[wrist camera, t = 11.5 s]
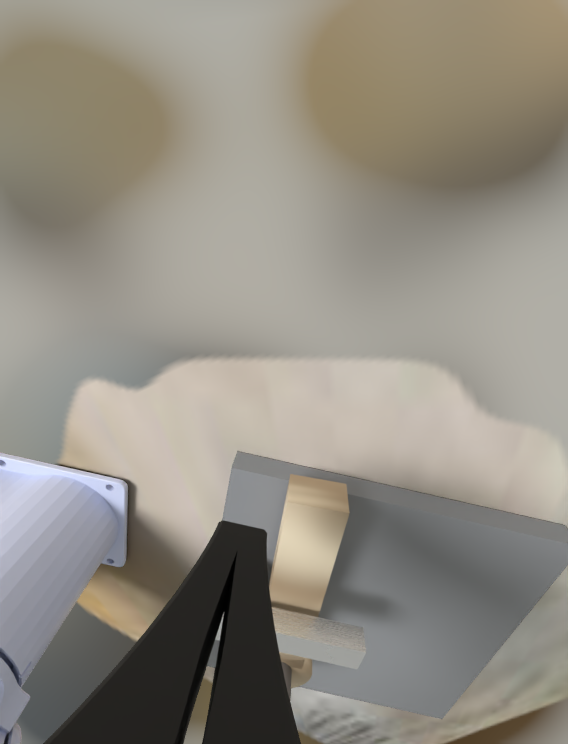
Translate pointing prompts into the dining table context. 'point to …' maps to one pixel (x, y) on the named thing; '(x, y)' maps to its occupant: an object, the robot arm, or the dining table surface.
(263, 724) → the robot arm
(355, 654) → the keeper
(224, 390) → the dining table surface
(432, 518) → the board
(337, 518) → the link
